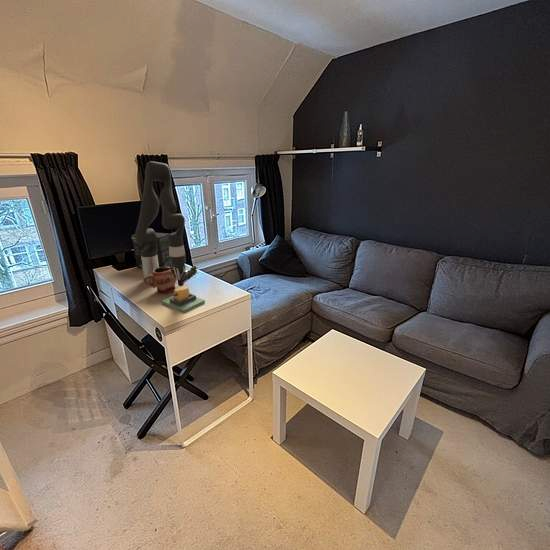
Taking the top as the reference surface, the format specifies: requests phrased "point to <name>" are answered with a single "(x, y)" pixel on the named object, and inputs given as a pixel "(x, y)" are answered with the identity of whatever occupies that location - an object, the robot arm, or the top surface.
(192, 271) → the hand tool
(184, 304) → the board
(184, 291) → the keyed plug
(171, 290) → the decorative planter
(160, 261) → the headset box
